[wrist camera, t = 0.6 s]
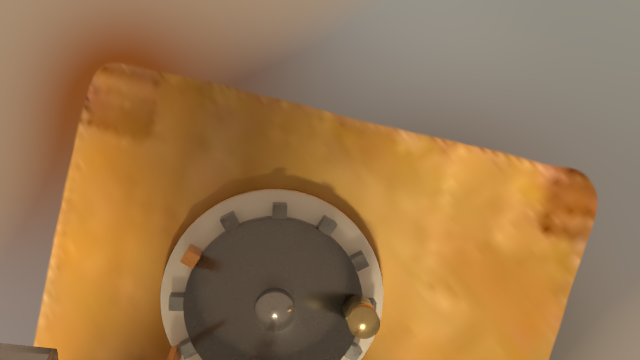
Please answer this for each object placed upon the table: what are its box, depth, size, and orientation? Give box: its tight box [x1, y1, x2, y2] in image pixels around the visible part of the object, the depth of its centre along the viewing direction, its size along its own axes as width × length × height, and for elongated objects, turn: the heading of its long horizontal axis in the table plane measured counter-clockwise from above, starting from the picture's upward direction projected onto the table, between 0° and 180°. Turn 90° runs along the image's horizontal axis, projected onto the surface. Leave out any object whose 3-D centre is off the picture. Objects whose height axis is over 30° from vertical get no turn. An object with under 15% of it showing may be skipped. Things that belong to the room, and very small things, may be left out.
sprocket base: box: [160, 189, 383, 360], centre depth 61 cm, size 23×23×6 cm
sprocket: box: [169, 202, 380, 360], centre depth 59 cm, size 21×21×6 cm
